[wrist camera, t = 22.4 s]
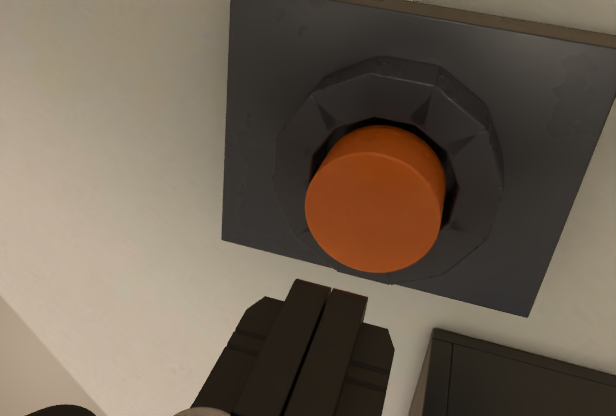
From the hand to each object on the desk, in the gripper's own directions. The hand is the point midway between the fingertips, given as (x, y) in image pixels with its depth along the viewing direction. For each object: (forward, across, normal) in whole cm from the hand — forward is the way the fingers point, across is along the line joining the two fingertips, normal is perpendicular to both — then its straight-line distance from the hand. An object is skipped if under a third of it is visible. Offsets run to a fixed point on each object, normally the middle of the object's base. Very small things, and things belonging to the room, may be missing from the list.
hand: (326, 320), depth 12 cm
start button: (+6, 0, 0) cm, 6 cm away
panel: (+9, 0, 0) cm, 9 cm away
